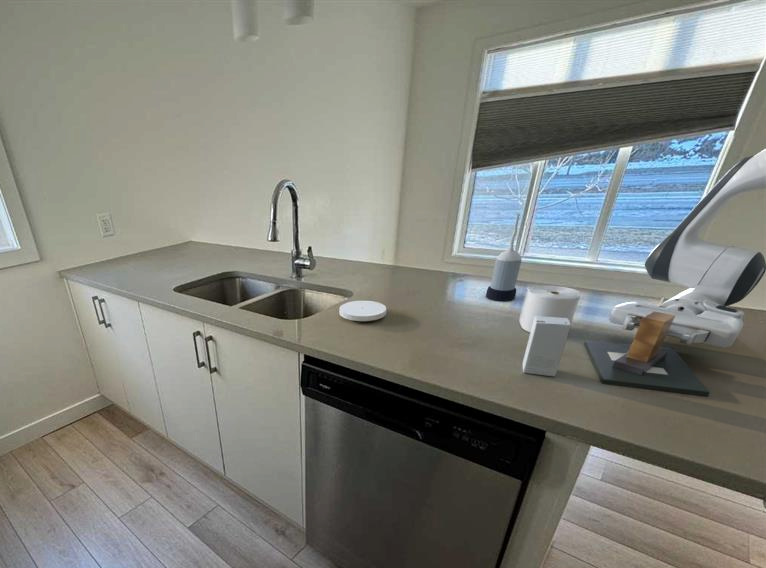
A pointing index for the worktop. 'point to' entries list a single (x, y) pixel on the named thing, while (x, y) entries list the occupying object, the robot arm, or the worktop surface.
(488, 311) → the worktop surface
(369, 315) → the plastic lid
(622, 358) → the eraser
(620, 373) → the slate board
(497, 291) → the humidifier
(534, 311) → the toilet tissue
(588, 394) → the worktop surface
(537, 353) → the cosmetic box
